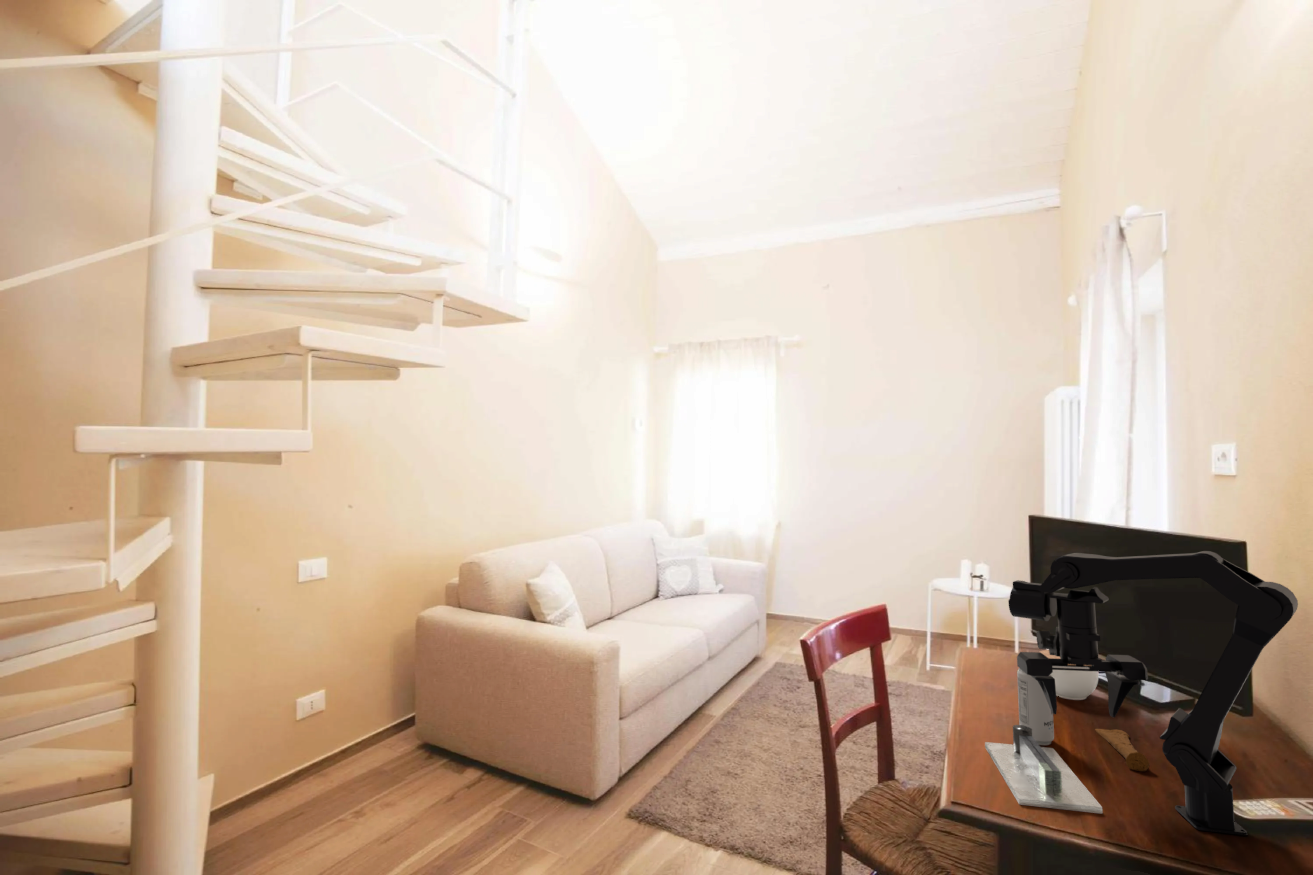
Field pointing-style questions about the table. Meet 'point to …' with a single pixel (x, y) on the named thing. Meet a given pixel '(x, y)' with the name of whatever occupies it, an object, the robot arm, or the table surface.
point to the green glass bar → (1056, 771)
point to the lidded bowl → (1073, 681)
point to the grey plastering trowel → (1039, 775)
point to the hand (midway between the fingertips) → (1082, 714)
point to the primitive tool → (1125, 748)
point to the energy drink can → (1034, 709)
